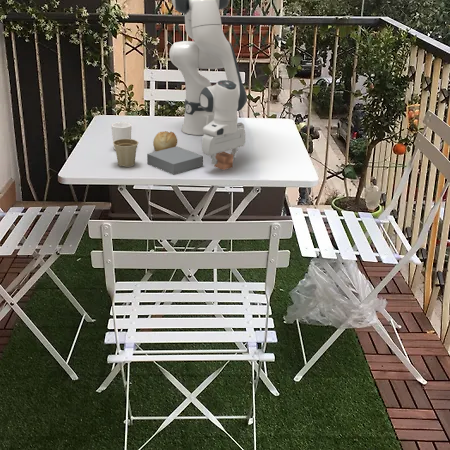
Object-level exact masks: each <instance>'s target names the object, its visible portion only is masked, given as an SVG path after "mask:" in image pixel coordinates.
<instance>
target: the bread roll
mask: <svg viewBox="0 0 450 450" xmlns="http://www.w3.org/2000/svg"><path fill="white" fill-rule="evenodd" d="M152 141H153V142H152V143H153V148H154V150H155V151H154V152H156V151H160V150H164V149H168V148H172V147H176V146H178V137H177V135H176V133H174V131H173V132H172V131H170V132H169V131H166V130H165V131H159V132H158V133H157V134H156V135H155V136H154V138H153V140H152Z"/></svg>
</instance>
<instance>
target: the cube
mask: <svg viewBox="0 0 450 450" xmlns="http://www.w3.org/2000/svg"><path fill="white" fill-rule="evenodd" d="M215 157H216V159H217V160H218V164H215V165H214V164H213V167H215V168H217V169H220V170H222V171H224V170H228V169H231V168H233V167H234V166H233V165H234V164H233V163H234V159H233V155H232V154H231V153H229V152H227V151H224V152H220V153H217V154H216V156H215Z"/></svg>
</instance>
